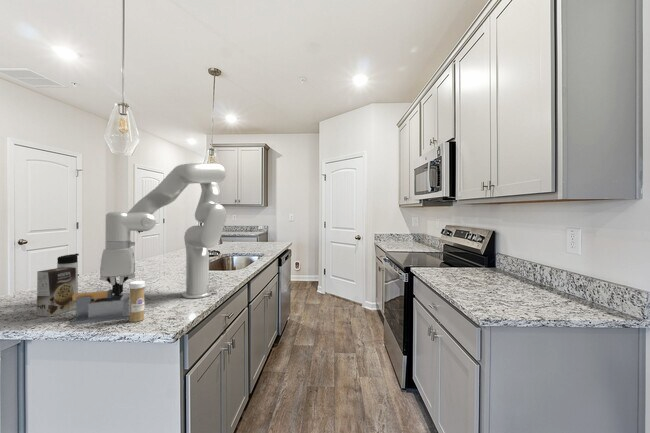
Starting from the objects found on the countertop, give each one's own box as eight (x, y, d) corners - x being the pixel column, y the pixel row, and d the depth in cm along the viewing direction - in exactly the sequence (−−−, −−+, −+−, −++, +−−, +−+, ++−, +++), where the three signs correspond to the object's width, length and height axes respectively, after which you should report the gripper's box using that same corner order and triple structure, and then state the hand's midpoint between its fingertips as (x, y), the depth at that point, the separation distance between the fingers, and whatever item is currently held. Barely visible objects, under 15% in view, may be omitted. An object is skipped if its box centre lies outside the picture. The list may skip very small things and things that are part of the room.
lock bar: (112, 296, 108) (112, 289, 108) (110, 298, 106) (110, 291, 106) (75, 299, 104) (75, 292, 104) (72, 301, 101) (72, 294, 101)
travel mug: (80, 303, 119) (80, 254, 118) (58, 307, 114) (58, 256, 113) (77, 299, 123) (77, 252, 122) (56, 303, 118) (56, 254, 118)
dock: (141, 305, 117) (141, 286, 117) (135, 317, 104) (135, 295, 104) (84, 311, 109) (84, 290, 109) (71, 325, 97) (71, 301, 97)
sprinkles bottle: (136, 323, 99) (136, 283, 99) (125, 321, 100) (125, 282, 100) (147, 318, 104) (147, 280, 103) (137, 316, 105) (137, 279, 105)
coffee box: (51, 317, 103) (50, 272, 103) (36, 315, 104) (35, 271, 104) (76, 308, 112) (76, 267, 112) (62, 307, 113) (62, 266, 113)
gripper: (143, 243, 114) (142, 290, 114) (95, 245, 108) (95, 294, 108) (140, 246, 107) (139, 295, 108) (89, 247, 101) (89, 300, 101)
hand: (117, 294), depth 108 cm, fingers closed
